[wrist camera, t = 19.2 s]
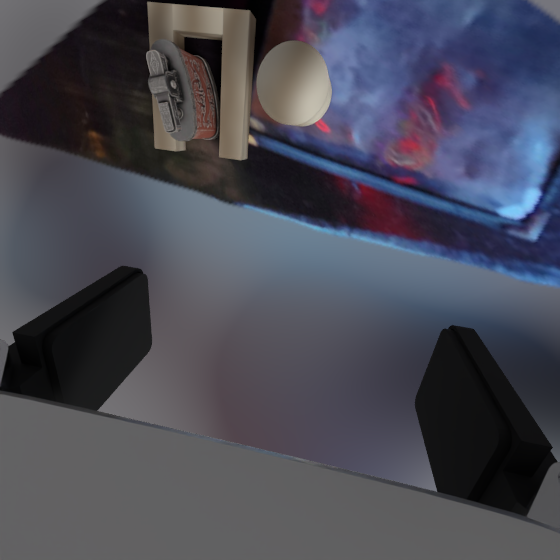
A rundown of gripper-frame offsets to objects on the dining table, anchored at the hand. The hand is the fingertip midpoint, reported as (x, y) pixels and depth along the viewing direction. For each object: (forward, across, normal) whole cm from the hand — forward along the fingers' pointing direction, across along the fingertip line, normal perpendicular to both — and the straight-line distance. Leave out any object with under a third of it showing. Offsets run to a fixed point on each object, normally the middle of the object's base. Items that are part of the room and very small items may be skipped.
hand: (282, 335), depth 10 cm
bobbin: (+30, +4, -9) cm, 32 cm away
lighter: (+31, +15, -7) cm, 35 cm away
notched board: (+30, +14, -8) cm, 35 cm away
